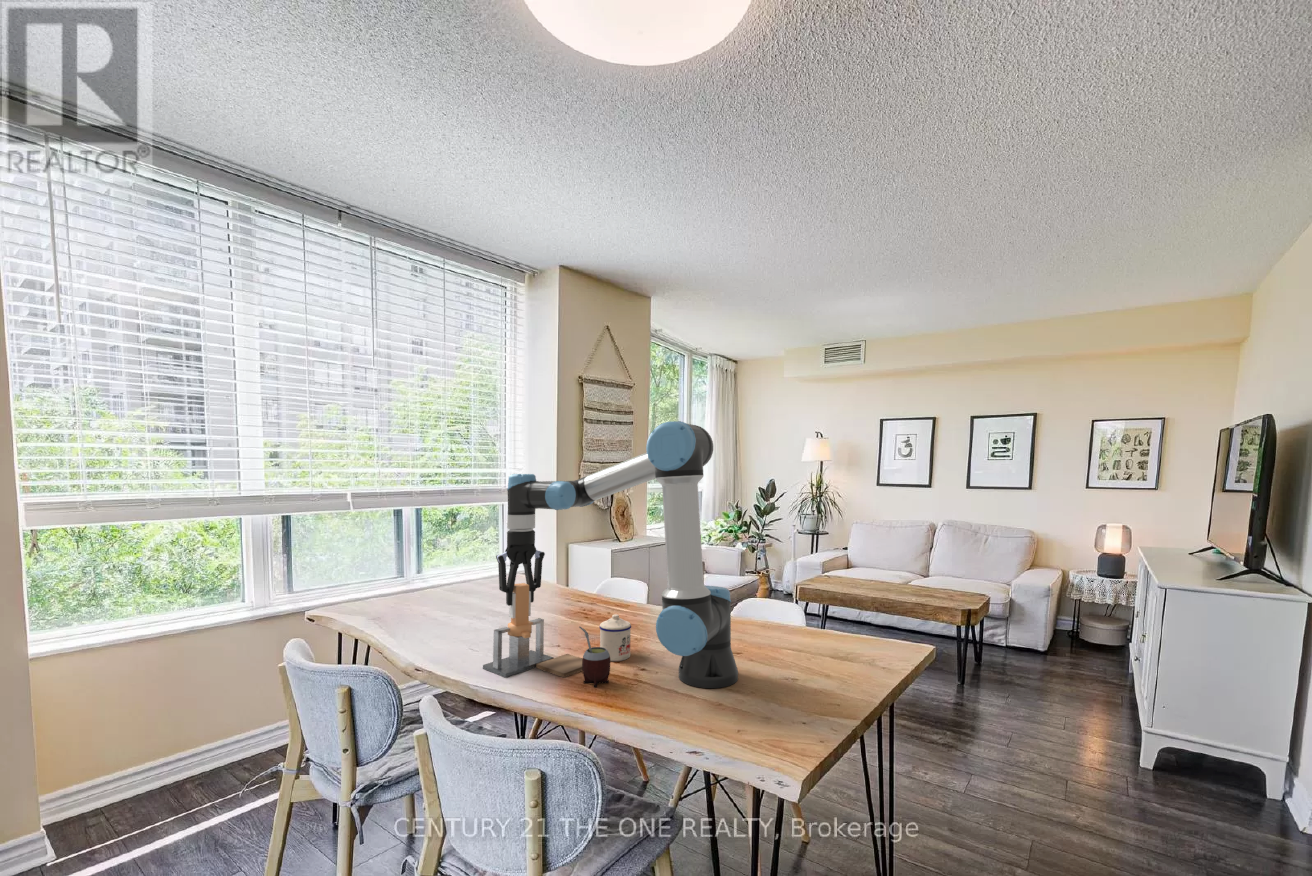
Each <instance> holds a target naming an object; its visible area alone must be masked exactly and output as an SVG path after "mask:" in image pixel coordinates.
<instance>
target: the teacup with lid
mask: <svg viewBox="0 0 1312 876" xmlns="http://www.w3.org/2000/svg"><path fill="white" fill-rule="evenodd" d="M599 629H600V630H599V631H600V632H599V647H603V648H605V649H606V650H607V651H608V652H609V654H610V661H611V662H621V661H622V662H623V661H626V660H627V659H629V658H630V657H631V629H632V624H631V623H630V621H628V620H625V619H623V618H621V617H620V615H619V614H617V613H616V614H615V613H614V614H612V615H611V617H610V618H609V619H607V620H604V621H602V622H601V623H600V624H599Z"/></svg>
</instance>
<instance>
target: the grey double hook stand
mask: <svg viewBox="0 0 1312 876" xmlns="http://www.w3.org/2000/svg"><path fill="white" fill-rule="evenodd" d="M529 621H530V622H532V626H535V650H532V649H531V650H530V638H524V637H522V636H510V635H508V636H509V642H508V644H509V647H508V649H509V650H508V657H505V658H504V657H503V658H502V656H503V655H502V654H503V653H502V652H503V650H502V649H503V634H506V633H508V632H509V631H510V628H508V626H504V627H499V628H496V629H493V646H492V647H493V648H492V649H493V653H492V655H493V656H492V662H488V663H485V664H482V669H483V670H485V671H488V672H490V673H493V674H495V675H498V676H500V677H503V678H508V677H510V676H514V675H517V674H520V673H522V672H526V671H529V670H532V669H535V668H536V664H538V663H541V662H544V661H547V660H550V659H553V658H555V657H553V656H551V655H548V654H544V652H545V651H544V648H545V647H544V642H545V641H544V640H545V638H544V637H545V633H544V632H545V631H544V630H545V619H543V618H540V617H539V618H534V619H531V620H529Z"/></svg>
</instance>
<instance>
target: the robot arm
mask: <svg viewBox="0 0 1312 876" xmlns="http://www.w3.org/2000/svg"><path fill="white" fill-rule="evenodd" d="M645 448H646V449H645V451H646V452H644V453H642V454H639V455H637V456H636V455H635V456H634V457H632V458H629V459H627V460H624V461H622V462H619V463H616V464H614V465H611V466H609V467H606V468H603V469H601V470H599V471H596V472H593V473H591V474H588V475H586V476H583V477H580V478H578V479H575V480H551V481H550V480H548V481H547V480H546V481H544V480H542V481H539V480H537V479H536V478H537V476H536V475H535V474H534V473H513V474H510V475H509V476H508V481H507V482H508V483H507V490H506V491H507V523H506V524H507V527H506V528H507V529H508V531H507V532H506V549H505V551H504V552H502V553H501V554H496V556H495V559H496V561H497V564H498V565H497V566H498V588H499V592H500V591H501V592H502V593H506V594H505V595H506V596H505V598H506V599H505V602H506V603H505V604H506V606H509V607H508V609H509V610H508V613H509V614H508V617H510V619H511V618H515V611H516V594H515V593H513V590H514V585H515V584H516V578H517V574H518V573H517V572H518V569H519V567H520V565H522V566H523V569H524V570H523V571H524V576H525V584H528V585H529V617H531V611H532V609H531V607H532V606H531V604H532V603H534V602H535V591H537V589H539V588H541V586H542V571H543V560H544V557H545V555H546V553H545V552H544V551H541V550H538V549H537V548H536V545H535V544H536V531H535V530H534V529H535V528H536V509H538V510H539V509H540V510H541V509H542V510H555V511H560V510H561V511H563V510H569V509H570V508H575V507H579V508H580V507H582V508H583V507H586V506H589V505H592V504H593V503H594V502H596V501H597V500H600V499H603V498H607V497H609V496H612V495H614V494H617V493H619V492H623V491H625V490H629V489H630V488H634V487H637V486H638V485H641V484H644V483H645V484H646V483H647V482H650V481H653V480H654V479H655V480H656V481H657V482H658V483H659V484H660V485H661V488H662V501H663V502H662V505H663V508H662V509H663V522H664V523H663V524H664V525H663V526H664V541H665V544H664V545H665V562H666V579H667V587H666V588H665V589H664V590H663V592H662V593H661V600H662V601H661V603H662V604H661V606H662V608H661V609H662V610H661V611H660V612H659V614H658V617H657V618H656V622H655V633H656V635H657V638H658V641H659V643H660V644H661V645H662V647H664V648H665V649H666V651H668V652H670V653H671V654H673V655H675V656H681V659H680V662H679V665H678V678H679V680H680V681H681V682H682V683H684V684H686V685H689V686H691V687H696V688H702V689H703V688H704V689H719V688H720V689H721V688H725V687H729V686H732V685H734V684H736V683H737V681H738V679H739V670H738V669H739V668H738V667H737V664H736V660H735V656H734V654H733V650H732V644H731V643H732V642H731V639H732V636H731V634H732V633H731V630H732V629H731V625H732V624H731V622H732V620H731V618H732V617H731V612H732V610H731V607H732V605H731V604H732V600H731V592H730V590H729V588H727V587H723V586H716V585H707V584H706V585H705V584H704V583H705V582H704V566H703V565H704V564H703V552H702V550H703V549H702V536H701V535H702V534H701V518H700V502H699V483H700V481H701V480H702V479H703V478H704V466H706V465H707V464H708V463H709V462H710V460H711V458H712V457H713V453H714V441H713V439H712V437H711V435H710V433H709V431H707V430H706V429H705V428H703V427H701V426H699V425H696V424H690V423H686V422H684V421H679V420H678V421H676V420H675V421H665V422H663V423H661V424H658V425H657V426H656V427H655V428H654V429H653V430H652V431H651V433H650V434H649V435H648V437H647V441H646V446H645ZM533 557H534V567H533V570H532V565H533V564H532V559H533ZM507 558H508V560H509V562H510V563H509V571H508V574H507V564H506V563H507V562H506V561H507ZM507 575H508V577H507Z"/></svg>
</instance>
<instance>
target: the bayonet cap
mask: <svg viewBox="0 0 1312 876" xmlns="http://www.w3.org/2000/svg"><path fill="white" fill-rule="evenodd" d="M513 593H515V594H516V611H515V618H511V617H510V622H508V623H507V627H508V628H510V631H509V632H507V635H508V636H509V635H510V636H522V637H524V638H529V639H530V638H531V637H532V636H531V635H532V631H533V629H532V628H533V625H532V622H530V621H531V620H530V619H529V618H530V616H529V585H528V584H527V583H526V582H521V583H515V585H514V590H513Z"/></svg>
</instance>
